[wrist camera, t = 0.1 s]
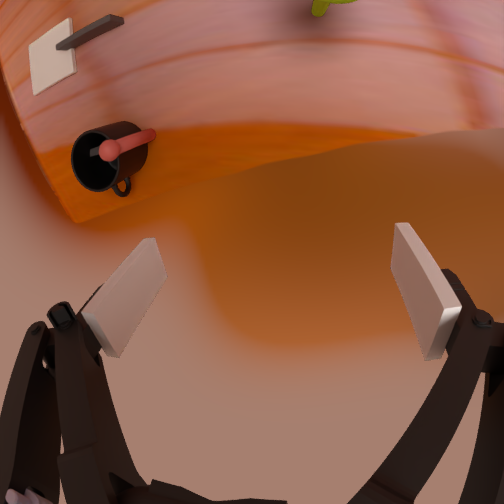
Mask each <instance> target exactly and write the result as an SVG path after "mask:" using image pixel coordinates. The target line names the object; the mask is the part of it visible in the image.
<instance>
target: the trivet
mask: <svg viewBox="0 0 504 504" xmlns="http://www.w3.org/2000/svg"><path fill="white" fill-rule="evenodd" d="M72 34H73V25H72V18H67V19H66V20H64V21H63V22H61V23H59V24H58V25H56V26H55V27H54V28H52V29H51V30H49V31H48V32H46V33H45V34H44V35H42V36H41V37H40V38H38V39H37V40H36V41H34V42H33V43H32V44H30V45H29V59H30V70H31V80H32V88H33V95H34V96H36V95H38V94H40V93H42V92H43V91H45V90H46V89H48V88H50V87H51V86H53V85H55V84H56V83H58V82H60V81H62V80H63V79H65V78H67V77H69V76H71V75H72V74H74V73H76V72H77V66H76V58H75V49H74V48H71V49H69V50H67V51H61V50H56V44H58V43H59V42H61V41H62V40H64V39H65V38H67V37H69V36H70V35H72Z"/></svg>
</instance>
